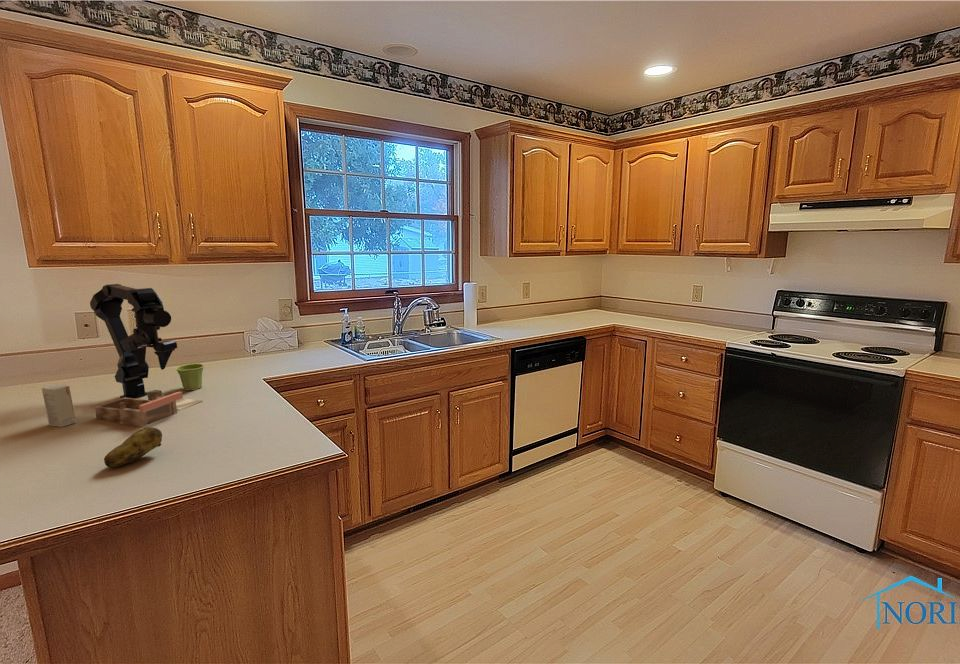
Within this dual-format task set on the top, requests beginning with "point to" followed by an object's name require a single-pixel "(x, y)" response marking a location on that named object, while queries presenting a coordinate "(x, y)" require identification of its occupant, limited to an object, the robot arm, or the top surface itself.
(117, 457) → the potato
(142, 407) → the bar
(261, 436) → the top surface
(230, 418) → the top surface
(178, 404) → the lid
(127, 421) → the toolbox
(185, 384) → the plant pot
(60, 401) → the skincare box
